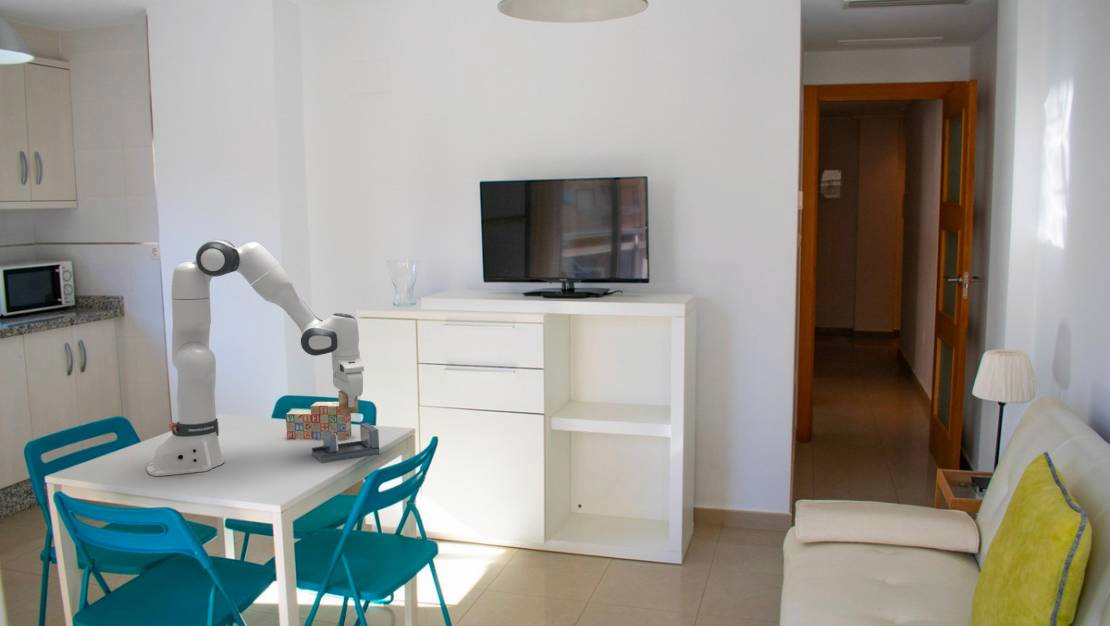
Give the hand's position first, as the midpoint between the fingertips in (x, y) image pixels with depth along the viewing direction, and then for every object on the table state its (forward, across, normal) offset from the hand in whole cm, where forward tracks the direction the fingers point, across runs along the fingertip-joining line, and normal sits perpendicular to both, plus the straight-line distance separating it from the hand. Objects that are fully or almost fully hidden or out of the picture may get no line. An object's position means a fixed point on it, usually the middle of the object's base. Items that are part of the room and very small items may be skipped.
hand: (348, 405), depth 295 cm
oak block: (+2, 0, 0) cm, 2 cm away
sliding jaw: (+14, 0, -6) cm, 16 cm away
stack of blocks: (+16, -26, -3) cm, 31 cm away
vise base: (+16, 0, -2) cm, 16 cm away
